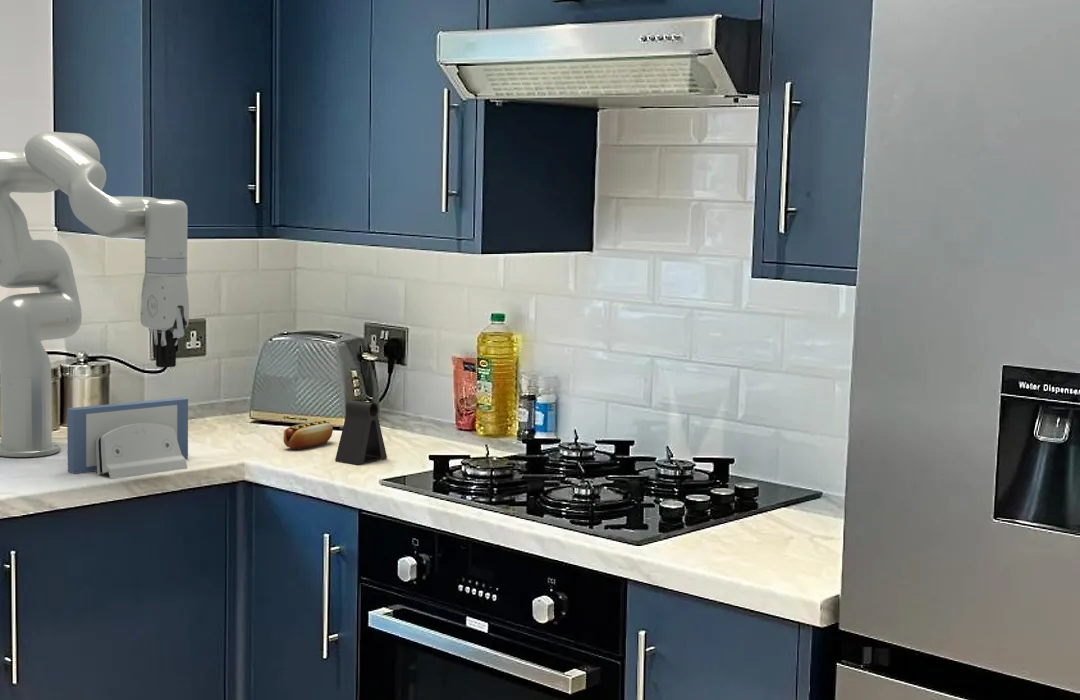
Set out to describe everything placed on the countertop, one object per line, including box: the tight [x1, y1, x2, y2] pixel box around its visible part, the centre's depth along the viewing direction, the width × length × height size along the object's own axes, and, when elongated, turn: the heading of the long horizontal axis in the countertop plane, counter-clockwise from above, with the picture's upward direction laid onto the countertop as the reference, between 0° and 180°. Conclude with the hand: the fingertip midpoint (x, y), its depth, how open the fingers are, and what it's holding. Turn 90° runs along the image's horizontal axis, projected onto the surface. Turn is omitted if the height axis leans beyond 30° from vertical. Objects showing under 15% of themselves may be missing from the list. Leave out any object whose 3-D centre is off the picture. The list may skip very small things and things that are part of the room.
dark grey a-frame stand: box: [334, 398, 388, 466], centre depth 287 cm, size 9×6×12 cm, turn 146°
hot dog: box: [283, 420, 334, 450], centre depth 300 cm, size 5×13×5 cm, turn 150°
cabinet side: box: [66, 397, 189, 474], centre depth 276 cm, size 3×24×12 cm, turn 134°
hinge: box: [96, 423, 188, 480], centre depth 272 cm, size 17×5×10 cm, turn 135°
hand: (165, 366), depth 264 cm, fingers closed
